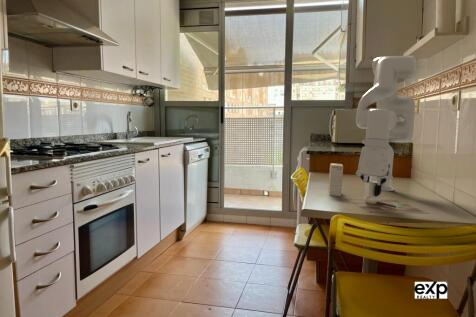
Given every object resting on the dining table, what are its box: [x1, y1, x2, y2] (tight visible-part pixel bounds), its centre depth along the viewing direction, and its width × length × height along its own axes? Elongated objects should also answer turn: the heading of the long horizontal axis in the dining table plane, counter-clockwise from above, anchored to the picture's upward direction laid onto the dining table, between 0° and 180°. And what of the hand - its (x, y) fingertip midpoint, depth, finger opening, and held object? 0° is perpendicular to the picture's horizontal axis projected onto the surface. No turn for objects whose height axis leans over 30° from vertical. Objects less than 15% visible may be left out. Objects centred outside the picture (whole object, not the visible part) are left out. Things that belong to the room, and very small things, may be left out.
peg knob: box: [363, 181, 396, 208], centre depth 128 cm, size 12×7×8 cm, turn 32°
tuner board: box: [343, 196, 430, 215], centre depth 129 cm, size 24×20×1 cm
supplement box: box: [327, 162, 344, 197], centre depth 145 cm, size 8×5×13 cm, turn 168°
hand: (372, 194), depth 130 cm, fingers closed on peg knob, 2 cm apart
